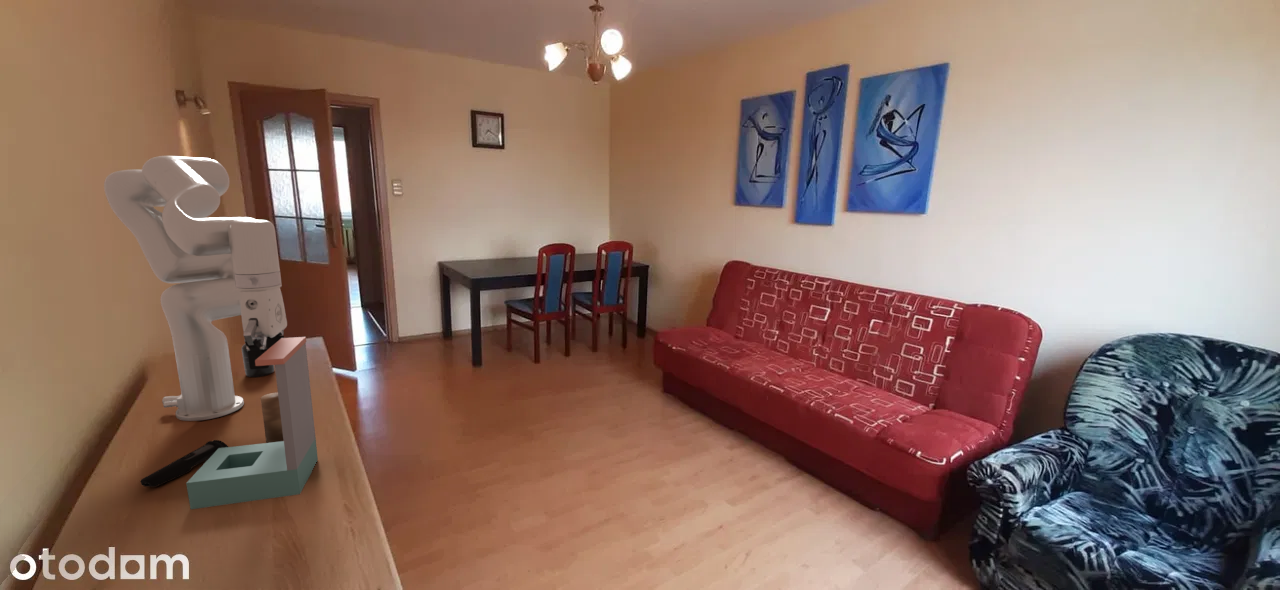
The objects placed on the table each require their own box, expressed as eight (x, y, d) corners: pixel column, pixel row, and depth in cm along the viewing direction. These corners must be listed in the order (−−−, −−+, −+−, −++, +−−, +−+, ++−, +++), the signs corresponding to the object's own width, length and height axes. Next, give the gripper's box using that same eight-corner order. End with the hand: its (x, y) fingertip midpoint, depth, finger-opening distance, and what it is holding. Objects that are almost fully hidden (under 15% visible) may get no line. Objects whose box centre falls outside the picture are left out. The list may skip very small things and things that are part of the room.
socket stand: (189, 511, 85) (164, 365, 79) (223, 470, 97) (204, 342, 91) (299, 495, 90) (283, 358, 84) (318, 459, 102) (305, 336, 96)
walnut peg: (263, 444, 107) (257, 400, 104) (269, 435, 110) (264, 393, 108) (285, 442, 108) (280, 398, 106) (291, 433, 112) (286, 391, 109)
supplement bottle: (269, 367, 150) (264, 329, 147) (278, 373, 146) (273, 333, 143) (241, 373, 144) (236, 333, 142) (250, 379, 140) (244, 338, 138)
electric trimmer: (135, 493, 89) (131, 477, 89) (214, 449, 104) (212, 435, 104) (154, 495, 89) (151, 479, 88) (231, 450, 104) (229, 436, 103)
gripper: (264, 287, 95) (275, 373, 98) (293, 273, 111) (302, 347, 114) (216, 289, 93) (229, 376, 96) (253, 274, 109) (263, 350, 112)
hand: (268, 360), depth 105 cm, fingers open, 9 cm apart
